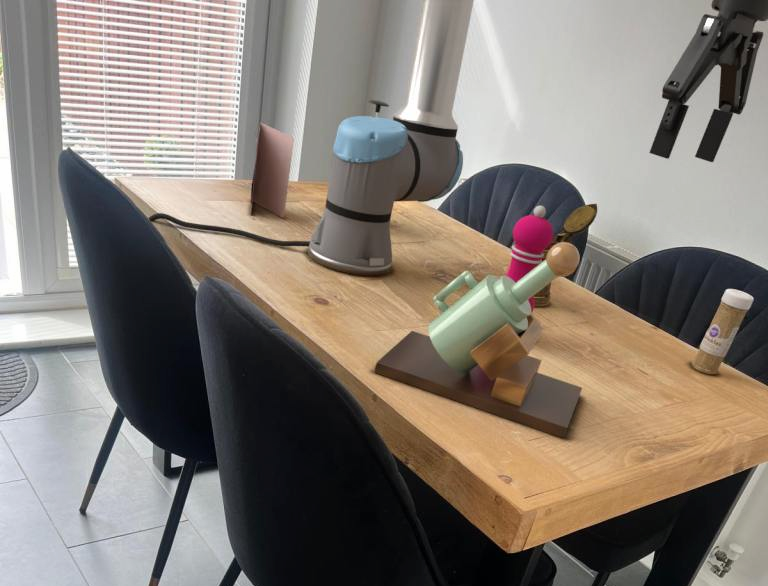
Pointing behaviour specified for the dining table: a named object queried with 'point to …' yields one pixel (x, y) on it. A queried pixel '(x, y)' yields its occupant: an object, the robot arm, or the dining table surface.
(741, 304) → the sprinkles bottle
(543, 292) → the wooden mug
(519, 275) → the pepper mill
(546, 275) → the jug
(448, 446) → the dining table surface
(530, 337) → the oak rest
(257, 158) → the greeting card
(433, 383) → the walnut board
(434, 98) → the robot arm
